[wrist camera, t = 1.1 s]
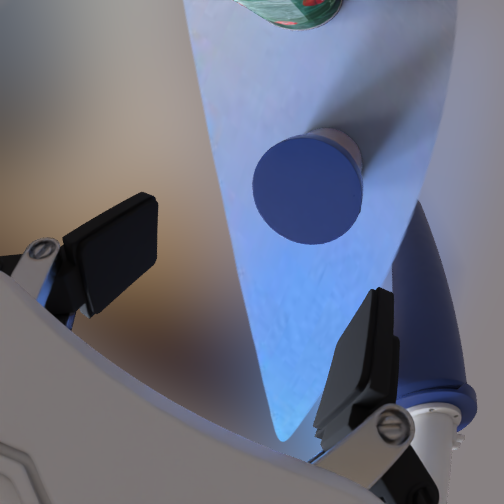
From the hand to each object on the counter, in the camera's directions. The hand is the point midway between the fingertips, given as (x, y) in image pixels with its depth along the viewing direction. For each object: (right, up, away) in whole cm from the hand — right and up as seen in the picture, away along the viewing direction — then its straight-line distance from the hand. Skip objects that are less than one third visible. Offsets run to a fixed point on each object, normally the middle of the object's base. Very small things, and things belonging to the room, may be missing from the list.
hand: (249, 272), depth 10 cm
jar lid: (+3, +4, +7) cm, 9 cm away
